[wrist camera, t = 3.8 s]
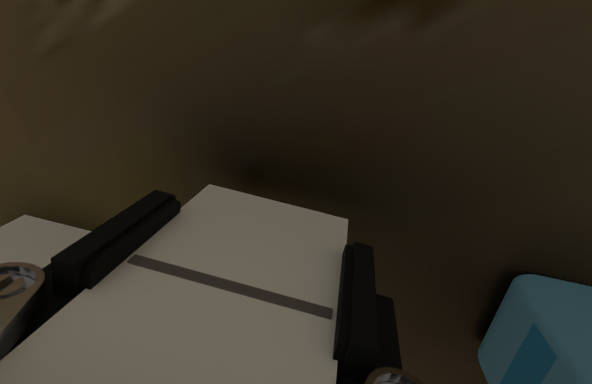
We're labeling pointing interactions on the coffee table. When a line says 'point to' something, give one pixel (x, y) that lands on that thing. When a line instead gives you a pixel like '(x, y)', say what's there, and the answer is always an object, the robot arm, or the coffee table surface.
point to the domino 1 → (35, 240)
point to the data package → (540, 334)
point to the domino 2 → (203, 303)
